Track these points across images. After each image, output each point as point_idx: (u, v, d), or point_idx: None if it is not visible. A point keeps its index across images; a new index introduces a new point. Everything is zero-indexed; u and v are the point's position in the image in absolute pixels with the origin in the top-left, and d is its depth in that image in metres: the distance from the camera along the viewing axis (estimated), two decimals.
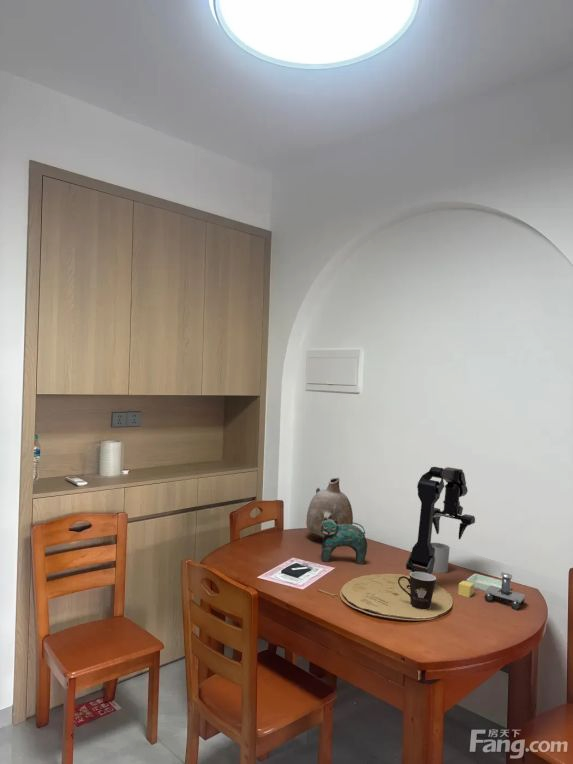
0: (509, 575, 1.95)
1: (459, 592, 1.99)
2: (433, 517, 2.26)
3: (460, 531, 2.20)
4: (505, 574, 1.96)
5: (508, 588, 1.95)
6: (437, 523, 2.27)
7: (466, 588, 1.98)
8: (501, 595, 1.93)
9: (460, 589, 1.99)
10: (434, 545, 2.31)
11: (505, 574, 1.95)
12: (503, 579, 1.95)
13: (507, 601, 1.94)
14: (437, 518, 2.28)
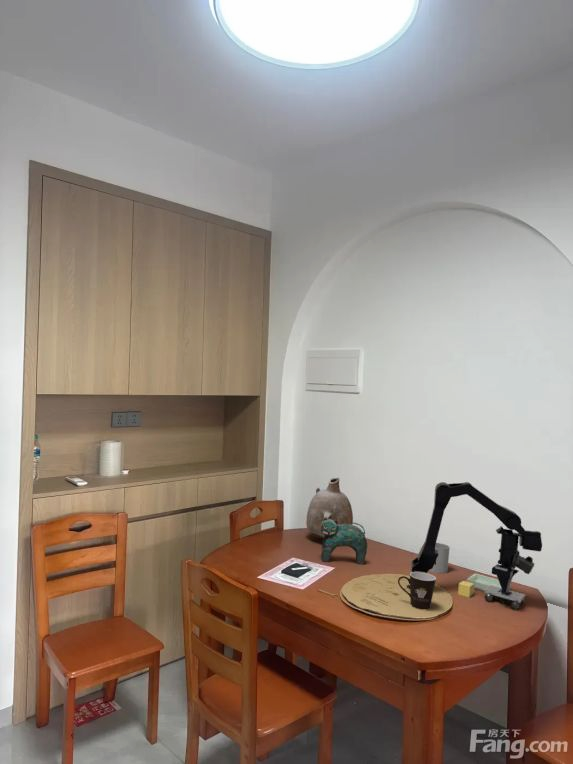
0: None
1: (459, 592, 1.99)
2: None
3: None
4: None
5: (508, 588, 1.95)
6: None
7: (466, 588, 1.98)
8: (501, 595, 1.93)
9: (460, 589, 1.99)
10: None
11: None
12: None
13: (507, 601, 1.94)
14: None
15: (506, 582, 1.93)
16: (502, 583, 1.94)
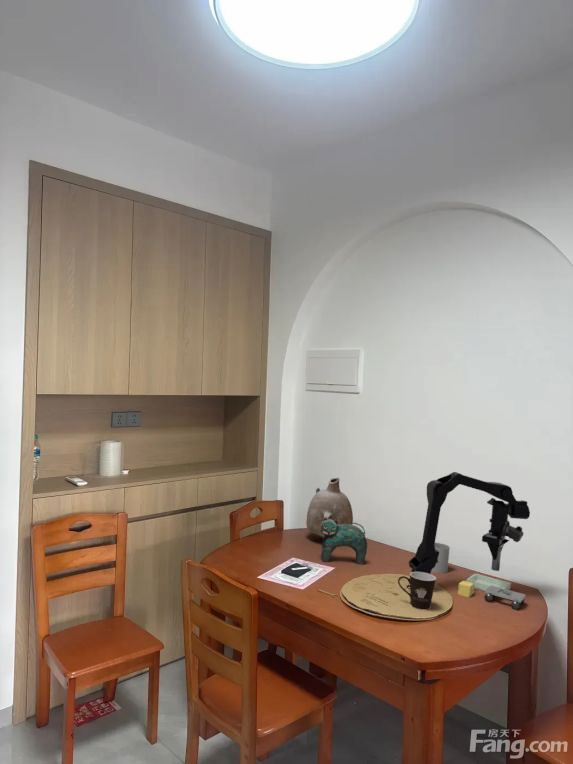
0: None
1: (459, 592, 1.99)
2: None
3: None
4: None
5: (499, 556, 2.04)
6: None
7: (466, 588, 1.98)
8: (501, 595, 1.93)
9: (460, 589, 1.99)
10: None
11: None
12: None
13: (498, 568, 2.04)
14: None
15: (496, 550, 2.03)
16: (492, 551, 2.04)
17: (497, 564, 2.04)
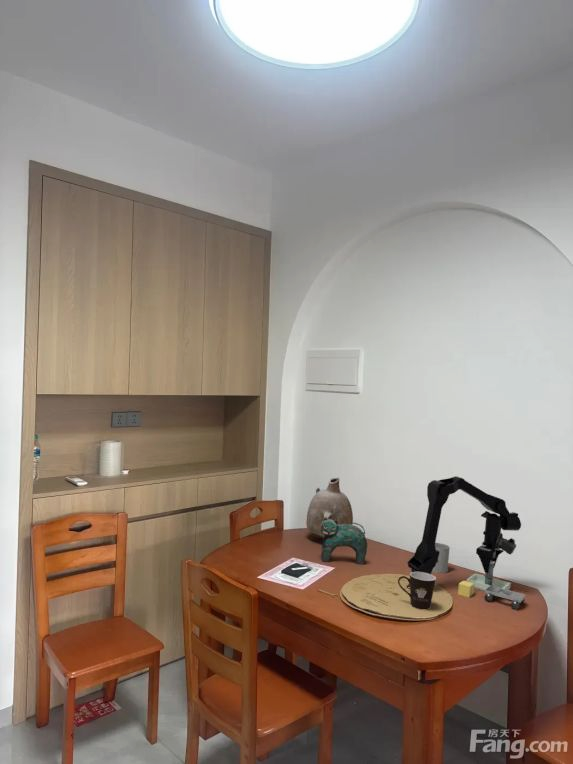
0: (492, 561, 2.09)
1: (459, 592, 1.99)
2: None
3: None
4: None
5: (491, 573, 2.09)
6: None
7: (466, 588, 1.98)
8: (501, 595, 1.93)
9: (460, 589, 1.99)
10: None
11: None
12: None
13: None
14: None
15: (488, 563, 2.05)
16: (484, 564, 2.06)
17: (490, 581, 2.08)
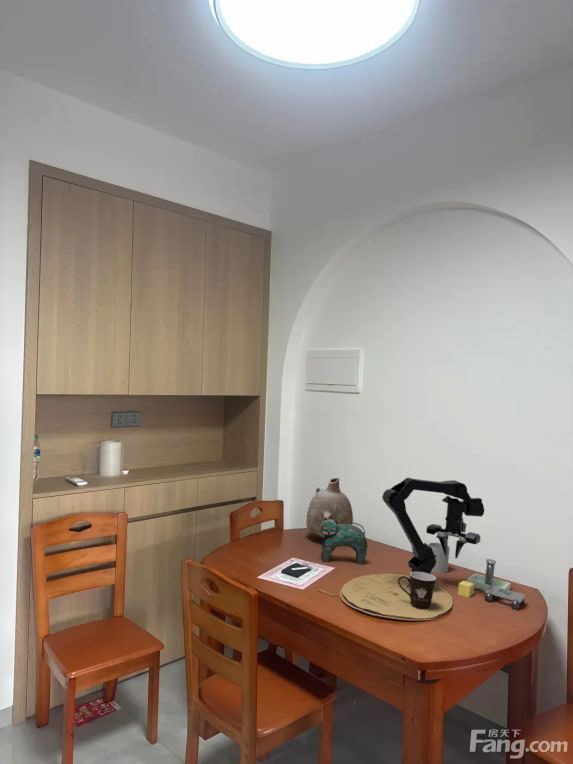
0: (493, 561, 2.09)
1: (459, 592, 1.99)
2: (441, 537, 2.04)
3: (457, 549, 2.01)
4: (489, 560, 2.10)
5: (492, 573, 2.09)
6: (445, 543, 2.05)
7: (466, 588, 1.98)
8: (501, 595, 1.93)
9: (460, 589, 1.99)
10: (434, 545, 2.31)
11: (490, 560, 2.09)
12: (487, 565, 2.09)
13: None
14: (445, 538, 2.05)
15: (461, 548, 2.03)
16: (459, 550, 2.02)
17: (491, 581, 2.08)
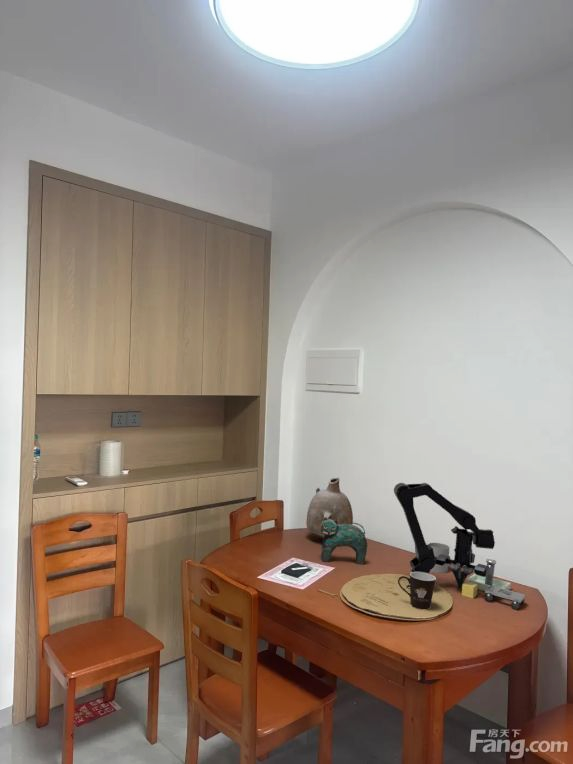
0: (493, 561, 2.09)
1: (463, 593, 1.98)
2: (455, 570, 2.00)
3: (461, 580, 2.00)
4: (490, 560, 2.10)
5: (492, 573, 2.09)
6: (459, 576, 2.01)
7: (469, 589, 1.97)
8: (501, 595, 1.93)
9: (464, 589, 1.98)
10: (434, 545, 2.31)
11: (490, 560, 2.09)
12: (488, 564, 2.09)
13: None
14: (459, 570, 2.02)
15: (465, 578, 2.02)
16: (463, 581, 2.01)
17: (491, 581, 2.08)
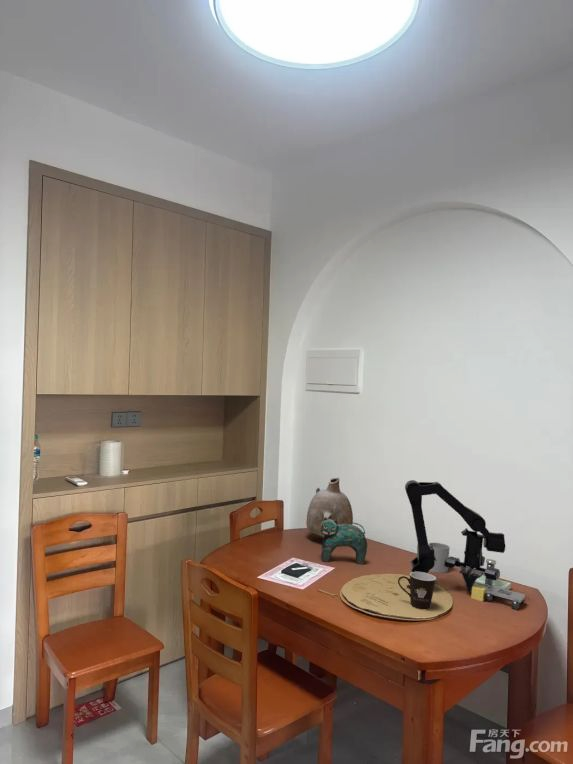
0: (493, 561, 2.09)
1: (472, 596, 1.96)
2: (464, 572, 1.98)
3: (471, 583, 1.98)
4: (490, 560, 2.10)
5: None
6: (469, 579, 1.99)
7: (479, 592, 1.95)
8: (501, 595, 1.93)
9: (473, 592, 1.96)
10: (434, 545, 2.31)
11: (490, 560, 2.09)
12: (488, 565, 2.09)
13: None
14: (469, 573, 2.00)
15: (474, 581, 2.00)
16: (473, 584, 1.99)
17: (491, 581, 2.08)
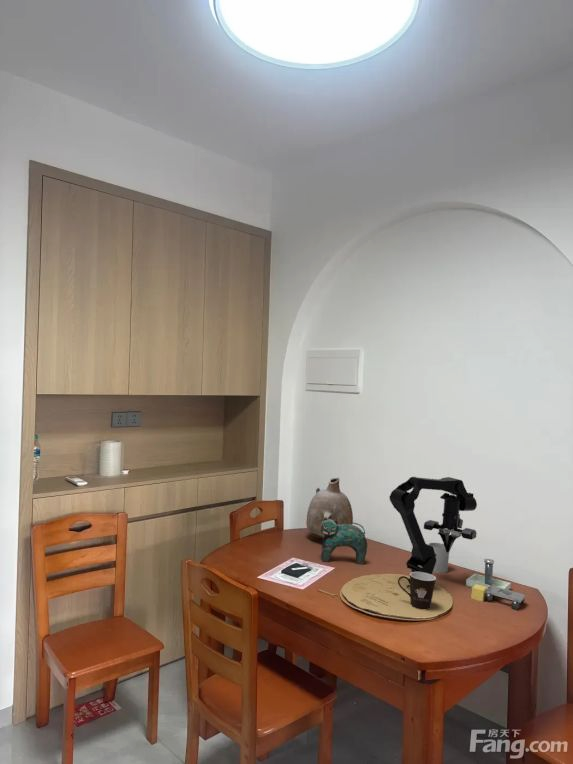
0: (491, 560, 2.10)
1: (472, 596, 1.96)
2: (442, 534, 2.07)
3: (449, 544, 2.07)
4: (488, 560, 2.10)
5: (491, 572, 2.09)
6: (447, 540, 2.08)
7: (479, 592, 1.95)
8: (501, 595, 1.93)
9: (473, 593, 1.96)
10: (434, 545, 2.31)
11: (488, 560, 2.10)
12: (486, 564, 2.09)
13: None
14: (447, 535, 2.09)
15: (453, 542, 2.08)
16: (451, 545, 2.07)
17: (490, 580, 2.09)
